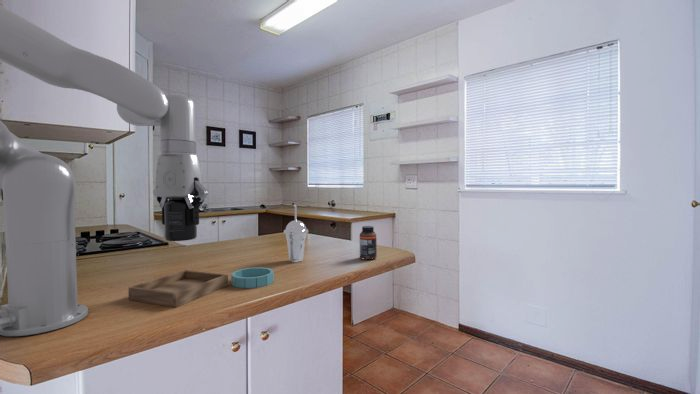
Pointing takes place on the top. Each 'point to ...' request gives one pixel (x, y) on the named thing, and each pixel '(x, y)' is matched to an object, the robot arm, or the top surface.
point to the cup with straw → (296, 238)
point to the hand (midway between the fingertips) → (180, 224)
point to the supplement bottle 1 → (177, 221)
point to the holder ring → (252, 277)
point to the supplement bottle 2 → (368, 243)
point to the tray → (178, 288)
